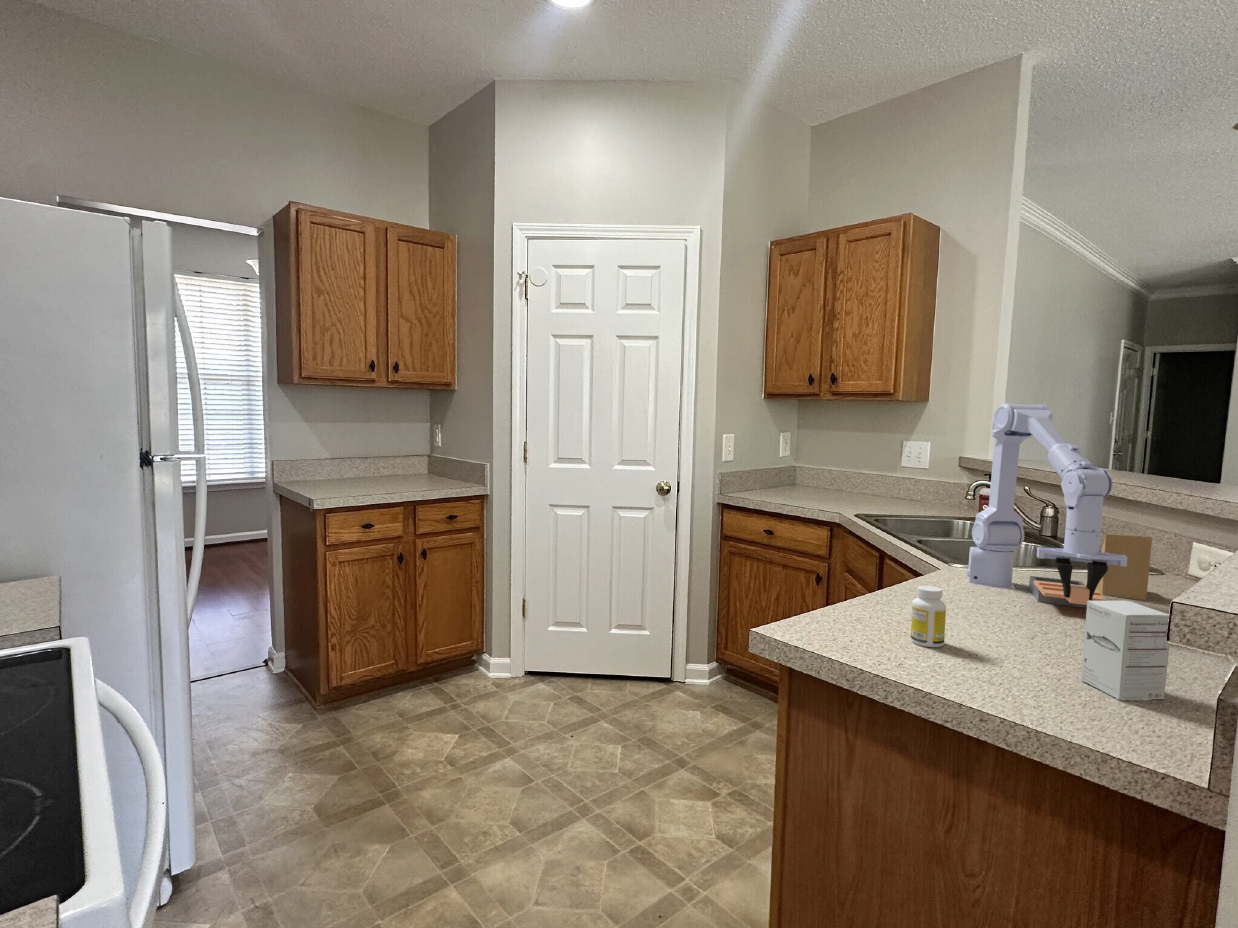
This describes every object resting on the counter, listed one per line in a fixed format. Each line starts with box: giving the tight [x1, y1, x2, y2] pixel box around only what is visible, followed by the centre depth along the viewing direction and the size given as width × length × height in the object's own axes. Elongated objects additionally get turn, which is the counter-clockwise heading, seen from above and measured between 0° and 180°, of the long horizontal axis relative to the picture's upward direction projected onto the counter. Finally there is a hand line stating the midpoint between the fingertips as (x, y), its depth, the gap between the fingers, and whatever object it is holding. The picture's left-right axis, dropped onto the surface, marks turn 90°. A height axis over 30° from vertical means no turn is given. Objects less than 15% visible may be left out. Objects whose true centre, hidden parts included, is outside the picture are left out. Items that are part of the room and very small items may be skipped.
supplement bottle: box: [910, 585, 947, 648], centre depth 117 cm, size 5×5×10 cm
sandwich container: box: [1095, 533, 1153, 601], centre depth 155 cm, size 9×15×15 cm, turn 154°
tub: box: [1028, 575, 1087, 609], centre depth 147 cm, size 10×13×4 cm
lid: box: [1034, 580, 1108, 605], centre depth 138 cm, size 11×18×3 cm, turn 156°
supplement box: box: [1080, 600, 1171, 701], centre depth 98 cm, size 7×7×13 cm
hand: (1077, 597), depth 132 cm, fingers closed on lid, 3 cm apart
